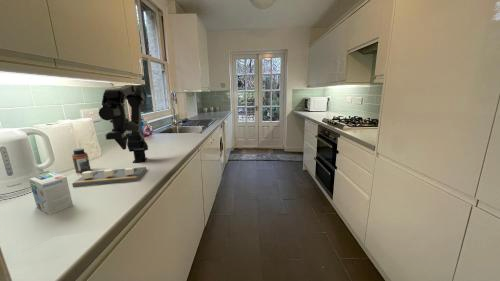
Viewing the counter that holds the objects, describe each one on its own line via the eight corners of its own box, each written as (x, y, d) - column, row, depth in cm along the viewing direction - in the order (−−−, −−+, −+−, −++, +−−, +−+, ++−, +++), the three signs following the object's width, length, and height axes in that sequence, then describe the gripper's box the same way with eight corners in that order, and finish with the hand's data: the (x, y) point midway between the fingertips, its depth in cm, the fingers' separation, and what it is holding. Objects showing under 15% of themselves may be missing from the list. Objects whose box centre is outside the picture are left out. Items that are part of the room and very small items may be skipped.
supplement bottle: (75, 170, 104) (70, 149, 101) (90, 167, 108) (85, 147, 105) (76, 174, 100) (70, 151, 97) (91, 170, 103) (86, 149, 101)
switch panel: (91, 174, 99) (90, 170, 99) (146, 169, 104) (145, 166, 103) (72, 186, 86) (72, 183, 85) (137, 180, 90) (136, 177, 90)
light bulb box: (35, 207, 71) (27, 178, 68) (60, 198, 77) (53, 171, 74) (49, 215, 66) (40, 184, 63) (74, 205, 72) (67, 176, 69)
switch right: (85, 177, 91) (84, 171, 90) (93, 176, 91) (91, 170, 91) (82, 178, 89) (81, 173, 88) (90, 178, 89) (89, 172, 89)
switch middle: (106, 175, 92) (105, 169, 92) (114, 174, 93) (113, 169, 92) (104, 177, 90) (103, 171, 90) (112, 176, 91) (111, 170, 90)
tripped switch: (127, 173, 94) (126, 168, 93) (134, 172, 94) (133, 167, 94) (125, 175, 92) (124, 169, 91) (132, 174, 92) (131, 169, 92)
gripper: (131, 119, 87) (136, 153, 91) (143, 113, 105) (147, 143, 109) (101, 120, 85) (108, 156, 89) (119, 114, 102) (124, 144, 106)
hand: (124, 149), depth 98 cm, fingers closed
